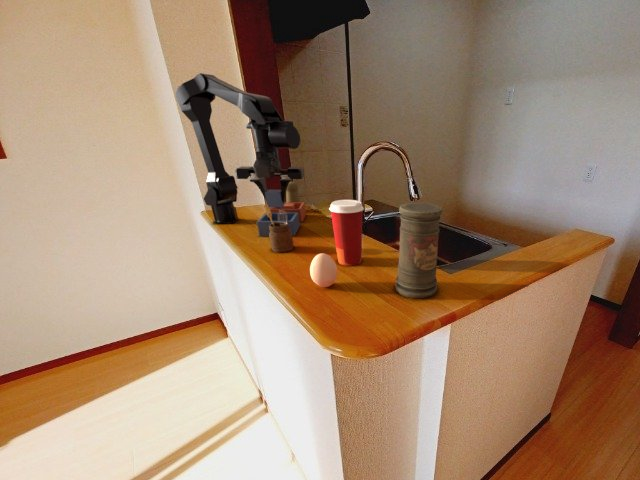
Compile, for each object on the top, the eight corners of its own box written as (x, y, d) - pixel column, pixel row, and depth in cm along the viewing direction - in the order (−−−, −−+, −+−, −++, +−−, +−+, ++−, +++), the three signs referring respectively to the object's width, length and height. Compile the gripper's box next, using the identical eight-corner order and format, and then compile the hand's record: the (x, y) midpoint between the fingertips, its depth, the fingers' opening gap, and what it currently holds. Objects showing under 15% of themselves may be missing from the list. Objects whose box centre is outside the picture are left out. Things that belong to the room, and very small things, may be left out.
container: (387, 288, 70) (387, 205, 61) (415, 276, 76) (419, 199, 67) (417, 303, 65) (422, 215, 56) (444, 289, 70) (453, 207, 61)
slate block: (267, 207, 98) (264, 192, 96) (270, 203, 102) (268, 189, 99) (282, 207, 98) (279, 192, 96) (284, 204, 102) (282, 189, 100)
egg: (343, 286, 70) (341, 254, 67) (320, 294, 67) (316, 261, 63) (329, 278, 74) (326, 247, 70) (307, 285, 71) (302, 253, 67)
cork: (285, 209, 128) (281, 181, 122) (300, 208, 130) (297, 180, 124) (287, 213, 123) (283, 183, 117) (303, 212, 125) (299, 182, 120)
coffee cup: (370, 257, 86) (368, 200, 78) (358, 269, 79) (355, 208, 71) (341, 253, 88) (337, 197, 80) (327, 265, 81) (321, 205, 73)
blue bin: (259, 236, 99) (256, 221, 97) (267, 226, 108) (265, 212, 106) (294, 235, 100) (292, 221, 98) (299, 226, 109) (298, 212, 107)
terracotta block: (281, 218, 114) (279, 206, 112) (284, 215, 118) (282, 203, 116) (294, 218, 115) (292, 206, 113) (296, 215, 119) (294, 203, 117)
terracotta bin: (271, 222, 112) (268, 209, 109) (277, 214, 121) (275, 202, 119) (301, 222, 113) (300, 209, 111) (306, 214, 122) (304, 202, 120)
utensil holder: (285, 254, 86) (278, 209, 80) (266, 250, 88) (257, 207, 82) (298, 247, 91) (292, 204, 85) (279, 244, 93) (272, 202, 87)
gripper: (222, 149, 84) (235, 208, 91) (294, 150, 86) (302, 208, 94) (236, 145, 93) (247, 200, 101) (301, 146, 95) (307, 200, 103)
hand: (275, 202), depth 99 cm, fingers closed on slate block, 4 cm apart
